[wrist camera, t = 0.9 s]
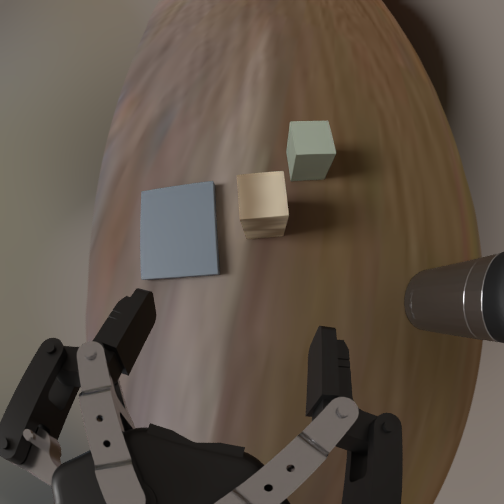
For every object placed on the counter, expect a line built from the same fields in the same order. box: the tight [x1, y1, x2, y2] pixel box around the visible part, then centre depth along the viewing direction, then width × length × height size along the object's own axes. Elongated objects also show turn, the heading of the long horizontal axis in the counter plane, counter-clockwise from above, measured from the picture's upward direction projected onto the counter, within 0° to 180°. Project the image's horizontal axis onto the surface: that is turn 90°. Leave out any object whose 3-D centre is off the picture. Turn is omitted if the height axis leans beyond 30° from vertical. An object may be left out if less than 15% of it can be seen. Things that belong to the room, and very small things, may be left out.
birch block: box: [237, 171, 289, 239], centre depth 34 cm, size 5×5×10 cm
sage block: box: [286, 121, 336, 181], centre depth 36 cm, size 5×5×8 cm
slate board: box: [140, 181, 220, 280], centre depth 38 cm, size 11×13×2 cm
